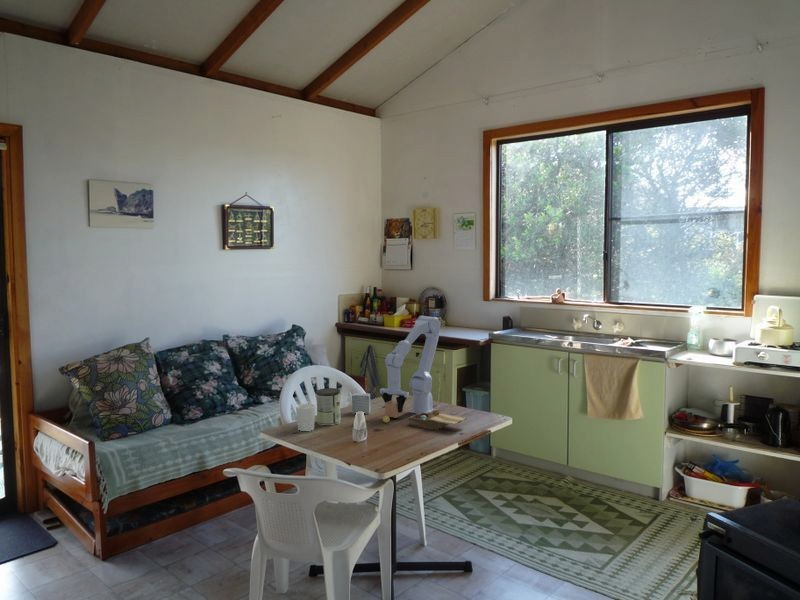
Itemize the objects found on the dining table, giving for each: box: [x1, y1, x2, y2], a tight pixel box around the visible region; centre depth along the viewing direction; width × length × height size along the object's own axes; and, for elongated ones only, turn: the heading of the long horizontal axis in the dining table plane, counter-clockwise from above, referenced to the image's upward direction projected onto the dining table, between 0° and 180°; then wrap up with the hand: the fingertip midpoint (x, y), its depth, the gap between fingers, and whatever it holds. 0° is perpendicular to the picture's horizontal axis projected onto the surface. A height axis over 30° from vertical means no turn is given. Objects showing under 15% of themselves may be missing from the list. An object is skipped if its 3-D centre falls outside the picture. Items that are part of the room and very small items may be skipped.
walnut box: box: [408, 412, 449, 431], centre depth 263 cm, size 10×14×3 cm
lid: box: [425, 408, 467, 426], centre depth 257 cm, size 10×14×3 cm
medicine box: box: [351, 392, 372, 415], centre depth 282 cm, size 8×4×9 cm, turn 84°
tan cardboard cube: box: [384, 399, 404, 418], centre depth 273 cm, size 6×6×6 cm
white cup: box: [295, 403, 316, 432], centre depth 257 cm, size 8×8×10 cm
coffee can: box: [315, 387, 342, 426], centre depth 267 cm, size 10×10×14 cm
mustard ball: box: [382, 416, 391, 424], centre depth 266 cm, size 3×3×3 cm
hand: (394, 411), depth 273 cm, fingers closed on tan cardboard cube, 5 cm apart
